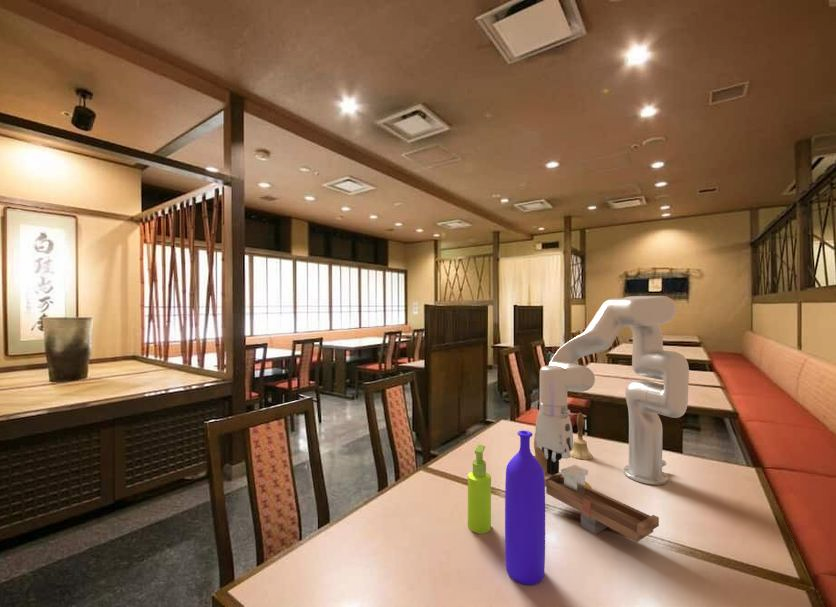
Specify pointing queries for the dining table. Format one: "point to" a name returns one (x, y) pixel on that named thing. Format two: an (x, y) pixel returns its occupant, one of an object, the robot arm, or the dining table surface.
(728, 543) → the dining table surface
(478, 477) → the soap dispenser
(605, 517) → the beam
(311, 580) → the dining table surface
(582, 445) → the hand bell
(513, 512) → the bottle
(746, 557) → the dining table surface
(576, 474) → the rider
